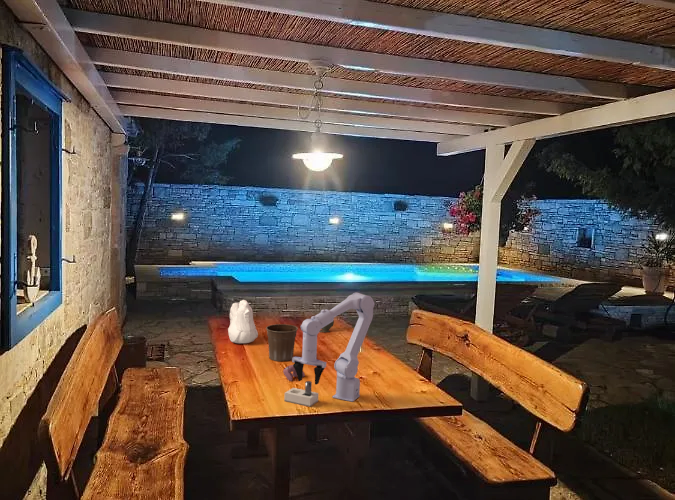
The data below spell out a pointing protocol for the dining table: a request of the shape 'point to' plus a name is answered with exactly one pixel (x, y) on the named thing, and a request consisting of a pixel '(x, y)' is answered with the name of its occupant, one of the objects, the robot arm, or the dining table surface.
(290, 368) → the video game controller
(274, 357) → the plant pot
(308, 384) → the pin
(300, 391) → the bore block
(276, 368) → the dining table surface
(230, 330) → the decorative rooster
